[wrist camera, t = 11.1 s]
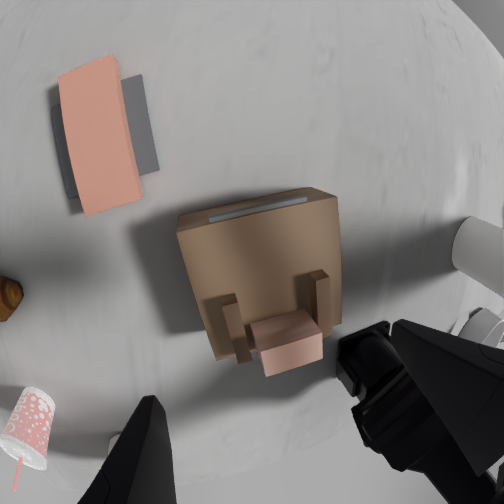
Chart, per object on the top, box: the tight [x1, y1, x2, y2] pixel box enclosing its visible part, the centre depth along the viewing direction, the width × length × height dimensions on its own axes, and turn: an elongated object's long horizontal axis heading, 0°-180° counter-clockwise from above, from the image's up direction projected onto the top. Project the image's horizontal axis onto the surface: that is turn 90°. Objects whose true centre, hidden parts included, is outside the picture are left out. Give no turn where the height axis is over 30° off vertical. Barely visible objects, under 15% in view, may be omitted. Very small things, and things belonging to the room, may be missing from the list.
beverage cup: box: [0, 387, 55, 493], centre depth 16 cm, size 6×6×14 cm
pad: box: [51, 75, 160, 199], centre depth 16 cm, size 7×7×1 cm
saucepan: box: [458, 308, 504, 348], centre depth 35 cm, size 12×20×6 cm, turn 81°
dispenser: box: [176, 187, 342, 377], centre depth 18 cm, size 10×10×7 cm
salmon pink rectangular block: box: [58, 54, 144, 217], centre depth 15 cm, size 4×10×2 cm, turn 10°
